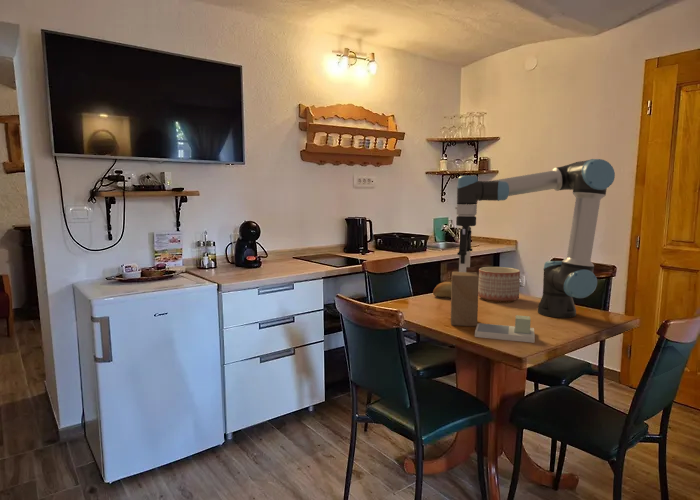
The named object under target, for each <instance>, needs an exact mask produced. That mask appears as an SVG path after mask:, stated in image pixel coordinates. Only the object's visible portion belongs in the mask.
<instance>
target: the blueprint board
mask: <svg viewBox="0 0 700 500" xmlns="http://www.w3.org/2000/svg"><path fill="white" fill-rule="evenodd" d="M474 337H475V338H480V339H481V338H482V339H492V340H503V341H513V342H524V343H533V344H534V343H536V342H535V340H536V338H535V337H536V335H535V328H534V327H530V334H528V333H517V332H515V325H503V324H493V323H491V324H490V323H481V322H480V323H479V322H477V326H476V327H475V330H474Z"/></svg>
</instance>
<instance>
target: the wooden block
mask: <svg viewBox="0 0 700 500" xmlns="http://www.w3.org/2000/svg"><path fill="white" fill-rule="evenodd" d="M451 282H452V285H451V299H450V325H451V326H456V327H457V326H458V327H459V326H460V327H475V328H476V327H477V324H478V319H479V318H478V314H479V313H478V309H479V296H478V287H479V273H478V272H477V271H466V272H459V271H452V272H451Z"/></svg>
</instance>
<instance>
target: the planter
mask: <svg viewBox="0 0 700 500" xmlns="http://www.w3.org/2000/svg"><path fill="white" fill-rule="evenodd" d="M520 276H521V270H520V269H518V268H513V267H504V266H485V267H480V268H479V269H478V277H479V285H478V298H481V299H482V300H484V301H487V302H492V303H513V302H514V301H516V300H518V299H519V298H520V282H521V281H520V279H521V277H520Z"/></svg>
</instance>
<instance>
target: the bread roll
mask: <svg viewBox="0 0 700 500" xmlns="http://www.w3.org/2000/svg"><path fill="white" fill-rule="evenodd" d="M451 285H452V281H441V282H440V283H438V284H436V286H435V287H434V289H433V291H432V294H433V296H434V297H439V298H451Z"/></svg>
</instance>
